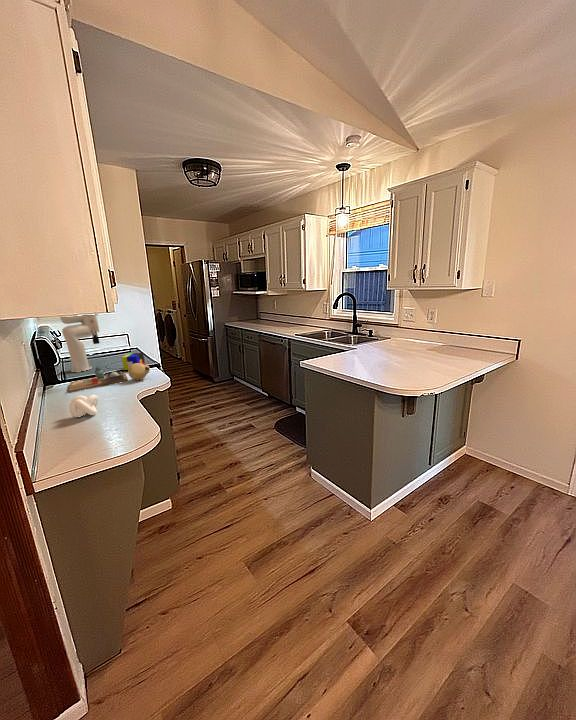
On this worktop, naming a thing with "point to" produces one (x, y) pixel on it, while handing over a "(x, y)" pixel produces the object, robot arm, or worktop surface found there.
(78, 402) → the white knot
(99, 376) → the pawn
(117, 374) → the dome
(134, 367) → the toy pig
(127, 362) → the puzzle toy
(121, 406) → the worktop surface
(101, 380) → the game board
